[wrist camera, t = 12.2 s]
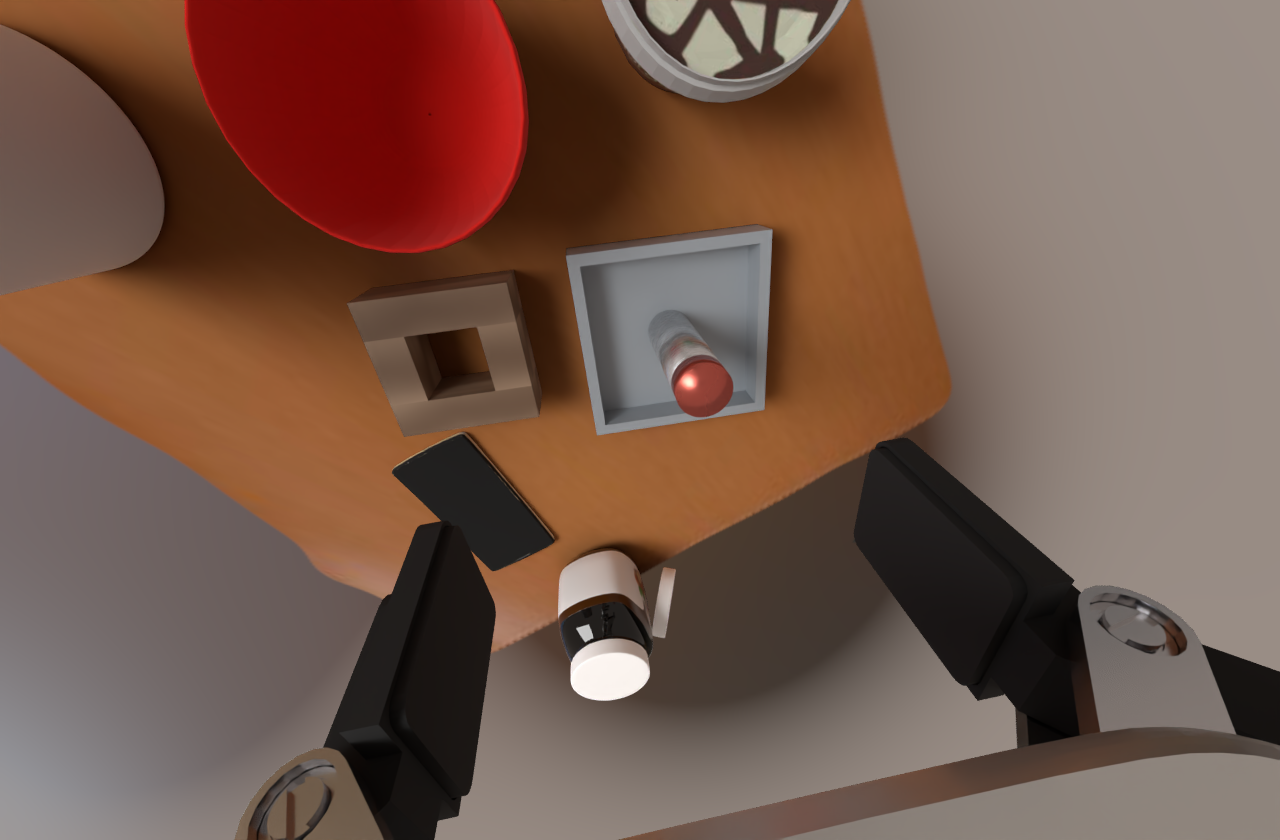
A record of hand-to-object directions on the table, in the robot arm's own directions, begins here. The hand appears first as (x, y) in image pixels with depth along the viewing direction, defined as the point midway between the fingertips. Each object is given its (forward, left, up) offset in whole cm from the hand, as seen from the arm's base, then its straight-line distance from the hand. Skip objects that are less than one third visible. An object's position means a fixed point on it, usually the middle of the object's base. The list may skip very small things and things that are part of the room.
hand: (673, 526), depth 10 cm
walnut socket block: (+4, -11, -27) cm, 29 cm away
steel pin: (+5, +4, -26) cm, 27 cm away
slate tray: (+5, +5, -27) cm, 28 cm away
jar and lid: (+31, -2, -27) cm, 41 cm away
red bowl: (-13, -9, -27) cm, 31 cm away
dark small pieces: (+19, -14, -28) cm, 37 cm away
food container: (-13, +6, -27) cm, 31 cm away
